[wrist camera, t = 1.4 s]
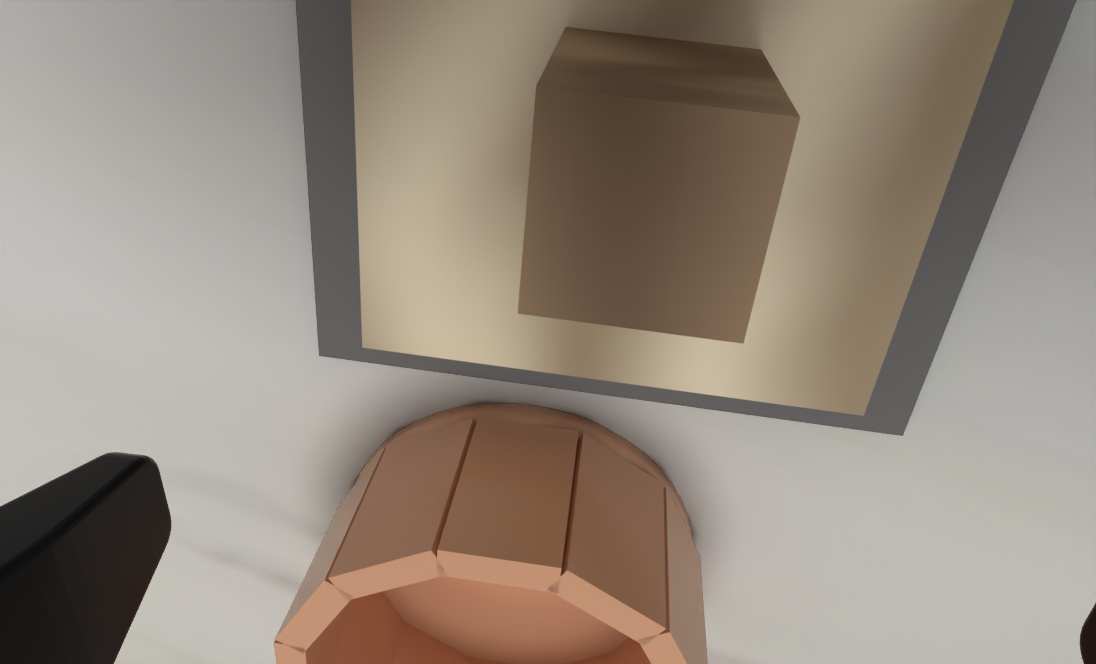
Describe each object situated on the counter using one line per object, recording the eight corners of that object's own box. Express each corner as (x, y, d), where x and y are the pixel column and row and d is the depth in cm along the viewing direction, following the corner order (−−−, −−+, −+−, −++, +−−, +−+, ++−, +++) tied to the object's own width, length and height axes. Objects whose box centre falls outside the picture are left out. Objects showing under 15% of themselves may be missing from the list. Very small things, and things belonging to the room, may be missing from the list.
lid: (1062, -189, 15) (1276, -214, 10) (857, 397, 21) (919, 563, 16) (355, -260, 15) (211, -317, 10) (371, 332, 22) (289, 472, 17)
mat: (1163, -247, 14) (1175, -249, 14) (898, 426, 22) (902, 435, 22) (281, -332, 15) (273, -335, 15) (324, 348, 23) (319, 355, 22)
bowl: (725, 429, 23) (747, 595, 18) (662, 676, 29) (664, 856, 23) (344, 376, 23) (258, 523, 18) (356, 629, 29) (293, 796, 24)
